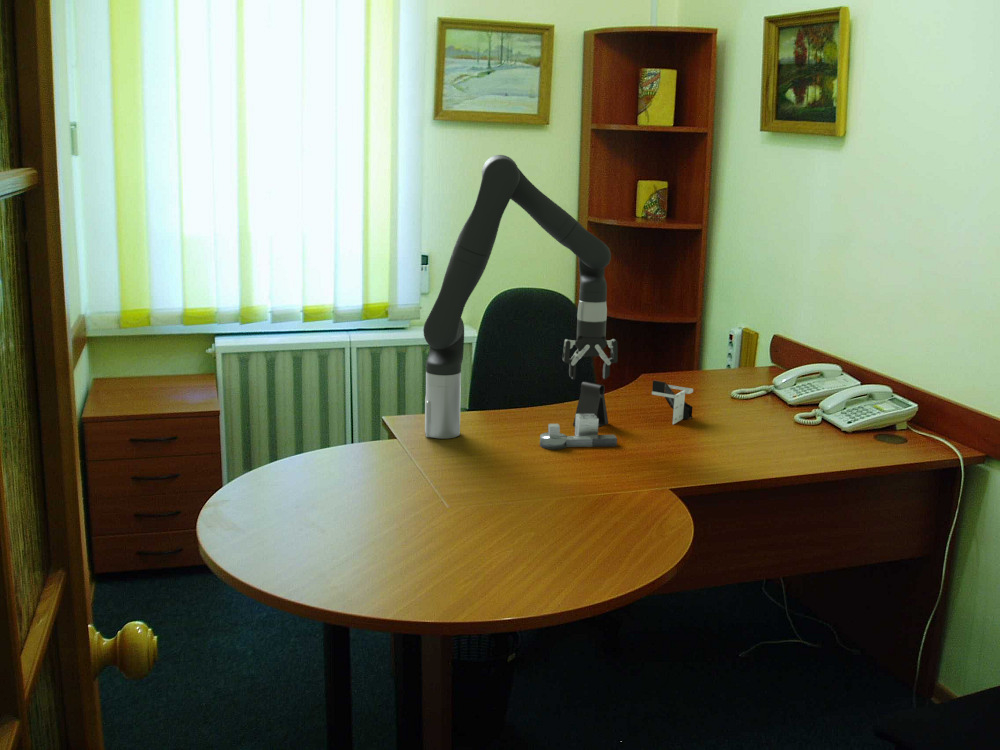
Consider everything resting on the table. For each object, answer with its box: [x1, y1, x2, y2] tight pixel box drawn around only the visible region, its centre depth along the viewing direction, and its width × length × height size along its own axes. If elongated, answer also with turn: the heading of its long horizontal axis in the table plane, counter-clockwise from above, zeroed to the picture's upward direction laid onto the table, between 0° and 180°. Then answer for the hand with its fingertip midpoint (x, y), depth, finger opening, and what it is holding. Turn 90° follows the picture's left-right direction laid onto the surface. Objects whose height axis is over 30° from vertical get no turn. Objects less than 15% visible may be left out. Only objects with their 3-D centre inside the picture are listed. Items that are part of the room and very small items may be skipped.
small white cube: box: [574, 413, 599, 436], centre depth 255 cm, size 5×5×6 cm
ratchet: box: [539, 423, 618, 451], centre depth 248 cm, size 20×7×6 cm, turn 98°
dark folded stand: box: [572, 381, 609, 428], centre depth 266 cm, size 9×6×12 cm, turn 141°
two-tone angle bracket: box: [651, 379, 694, 425], centre depth 274 cm, size 9×10×12 cm
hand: (589, 378), depth 251 cm, fingers open, 8 cm apart
